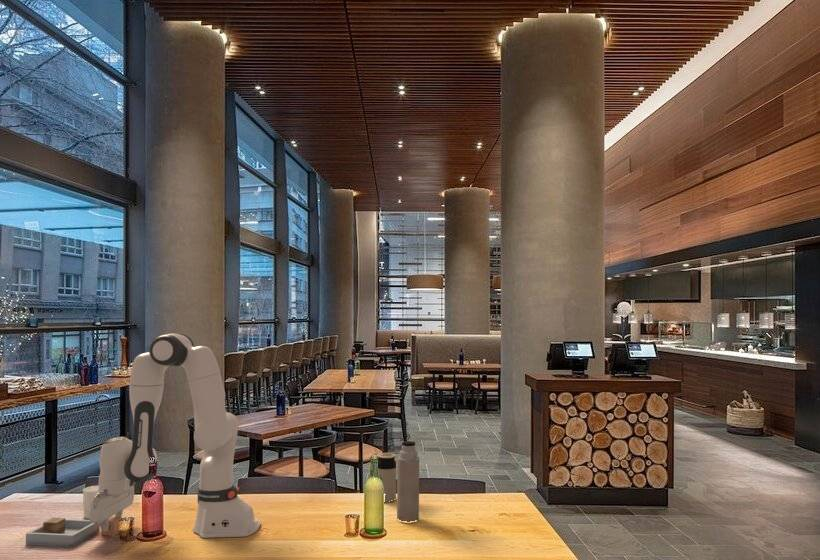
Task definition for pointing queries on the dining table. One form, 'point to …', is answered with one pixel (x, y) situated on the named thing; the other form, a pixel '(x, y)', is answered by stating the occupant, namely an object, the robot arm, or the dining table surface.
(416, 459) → the thermos bottle
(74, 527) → the tray
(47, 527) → the walnut block
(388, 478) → the travel mug
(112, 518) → the terracotta block
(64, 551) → the dining table surface
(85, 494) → the white cup
